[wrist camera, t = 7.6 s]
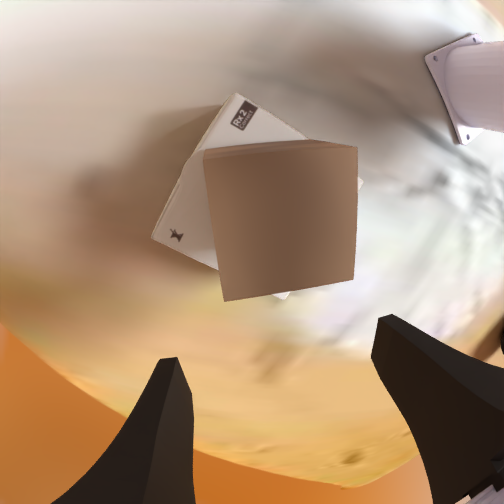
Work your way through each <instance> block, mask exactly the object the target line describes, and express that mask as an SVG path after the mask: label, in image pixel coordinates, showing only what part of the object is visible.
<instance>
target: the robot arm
mask: <svg viewBox="0 0 504 504" xmlns="http://www.w3.org/2000/svg"><path fill="white" fill-rule="evenodd" d="M433 57H434V58H433ZM434 59H435V60H434ZM425 62H426V64H427V66H428V68H429V70H430V72H431V74H432V76H433V78H434V80H435V82H436V84H437V86H438V89H439V91H440V93H441V95H442V98H443V100H444V102H445V105H446V107H447V110H448V112H449V115H450V117H451V120H452V123H453V125H454V128H455V131H456V134H457V137H458V139H459V142H460V144H461V145H467V144H468V143H469V142H470V141H471V140H473V139H474V138H475V137H476V136H477V135H478V134H480V133H481V132H482V131H483V130H484V129H487V130H492V131H498V132H503V133H504V41H498V42H486V43H483V41H482V39H481V37H480V35H479V34H477V33H476V34H472V35H470V36H467V37H465V38H463V39H460V40H458V41H456V42H454V43H451V44H449V45H447V46H445V47H443V48H440V49H438V50H436V51H434V52H432V53H430V54H428V55H426V56H425ZM466 136H467V138H466ZM371 359H372V361H373V364H374V366H375V368H376V370H377V373H378V375H379V377H380V379H381V381H382V382H383V384H384V386H385V387H386V389H387V391H388V392H389V394H390V395H391V397H392V399H393V400H394V402H395V404H396V405H397V407H398V409H399V410H400V412H401V413H402V415H403V417H404V418H405V420H406V422H407V424H408V426H409V428H410V430H411V432H412V435H413V437H414V439H415V442H416V444H417V447H418V449H419V452H420V455H421V458H422V460H423V463H424V466H425V470H426V473H427V476H428V480H429V484H430V489H431V494H432V499H433V504H455V503H456V502H458V501H460V500H461V499H462V498H464V497H466V496H467V495H468V494H469V496H470V498H471V500H470V501H468V502H467V503H466V504H504V368H501V367H497V366H494V365H491V364H488V363H485V362H483V361H480V360H478V359H475V358H473V357H470V356H468V355H466V354H464V353H462V352H460V351H458V350H456V349H454V348H452V347H450V346H448V345H446V344H444V343H442V342H440V341H439V340H437V339H435V338H433V337H431V336H430V335H428V334H426V333H425V332H423V331H421V330H419V329H418V328H416V327H414V326H413V325H411V324H409V323H408V322H406V321H404V320H402V319H401V318H399V317H397V316H395V315H393V314H390V315H387V316H383V317H380V318H378V323H377V329H376V334H375V339H374V344H373V349H372V353H371ZM193 433H194V413H193V401H192V393H191V390H190V388H189V386H188V383H187V381H186V378H185V376H184V373H183V371H182V368H181V366H180V363H179V360H178V358H177V357H174V358H164V359H160V360H159V361H158V363H157V365H156V367H155V369H154V371H153V373H152V375H151V377H150V379H149V381H148V383H147V385H146V387H145V389H144V391H143V392H142V394H141V396H140V398H139V400H138V402H137V403H136V405H135V407H134V409H133V410H132V412H131V414H130V415H129V417H128V419H127V420H126V422H125V423H124V425H123V427H122V428H121V430H120V431H119V433H118V434H117V436H116V437H115V439H114V440H113V441H112V443H111V444H110V445H109V447H108V448H107V449H106V451H105V452H104V453H103V454H102V456H101V457H100V458H99V459H98V461H96V463H95V464H94V465H93V466H92V467H91V468H90V469H89V470H88V472H87V473H86V474H85V475H84V476H83V477H82V478H80V479H79V480H78V481H77V482H76V483H75V484H74V485H73V486H72V487H71V488H70V489H69V490H68V491H67V492H66V493H64V494H63V495H62V496H60V497H59V498H58V499H56V500H55V501H54V502H52V503H51V504H196V503H195V494H194V485H193Z"/></svg>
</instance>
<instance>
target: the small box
mask: <svg viewBox="0 0 504 504" xmlns="http://www.w3.org/2000/svg"><path fill="white" fill-rule="evenodd" d="M291 140H309V138H307V137H306V136H304V135H303V134H302V133H300V132H299V131H297V130H296V129H294V128H293V127H291V126H290V125H288V124H287V123H285V122H284V121H282V120H281V119H279V118H278V117H276V116H274V115H273V114H271V113H270V112H268V111H267V110H265V109H264V108H262V107H260V106H259V105H257V104H255V103H254V102H252V101H250V100H249V99H247V98H245V97H244V96H242V95H240V94H238V93H234V94H232V95H231V96H230V97H229V99H228V100H227V101H226V102H225V104H224V105H223V107H222V108H221V109H220V111H219V112H218V114H217V115H216V117H215V118H214V120H213V121H212V123H211V124H210V126H209V127H208V129H207V130H206V132H205V134H204V135H203V137H202V138H201V140H200V142H199V143H198V145H197V147H196V148H195V150H194V152H193V154H192V155H191V157H190V158H189V159H188V160H187V161H186V163H185V165H184V167H183V169H182V172H181V175H180V177H179V179H178V181H177V183H176V184H175V186H174V188H173V190H172V193H171V195H170V197H169V199H168V201H167V203H166V205H165V207H164V209H163V211H162V213H161V215H160V217H159V220H158V222H157V224H156V226H155V228H154V230H153V232H152V235H151V239H153V240H155V241H157V242H159V243H161V244H164V245H166V246H168V247H170V248H172V249H174V250H176V251H178V252H180V253H182V254H184V255H186V256H188V257H190V258H192V259H194V260H197V261H199V262H201V263H203V264H205V265H208V266H210V267H212V268H214V269H216V270H218V271H219V269H218V263H217V257H216V250H215V244H214V237H213V231H212V224H211V218H210V211H209V204H208V197H207V190H206V182H205V175H204V168H203V156H204V151H205V149H211V148H218V147H226V146H234V145H243V144H253V143H264V142H276V141H291ZM363 183H364V181H363V180H362V179H360V178H359V177H358V191H359V189H360V188H361V186H362V185H363ZM290 292H291V291H289V292H283V293H277V294H271V295H273V296H275V297H278V298H280V299H282V300H284V299H285V298H286V297H287V296H288V294H289V293H290Z"/></svg>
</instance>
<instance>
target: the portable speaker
mask: <svg viewBox="0 0 504 504" xmlns="http://www.w3.org/2000/svg"><path fill="white" fill-rule="evenodd" d="M501 349H502V352H503V354H504V334H503V336H502V339H501Z"/></svg>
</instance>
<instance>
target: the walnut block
mask: <svg viewBox="0 0 504 504" xmlns="http://www.w3.org/2000/svg"><path fill="white" fill-rule="evenodd" d="M203 168H204V175H205V182H206V190H207V197H208V204H209V211H210V218H211V224H212V231H213V237H214V244H215V250H216V257H217V263H218V269H219V275H220V281H221V287H222V293H223V298H224V302H226V301H233V300H240V299H246V298H253V297H259V296H265V295H271V294H277V293H283V292H289V291H295V290H301V289H306V288H312V287H317V286H323V285H328V284H333V283H338V282H344V281H349V280H353V277H354V265H355V251H356V232H357V203H358V158H357V147H352V146H347V145H341V144H335V143H330V142H324V141H317V140H311V139H309V140H291V141H276V142H264V143H253V144H243V145H234V146H226V147H218V148H211V149H205V151H204V156H203Z"/></svg>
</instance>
